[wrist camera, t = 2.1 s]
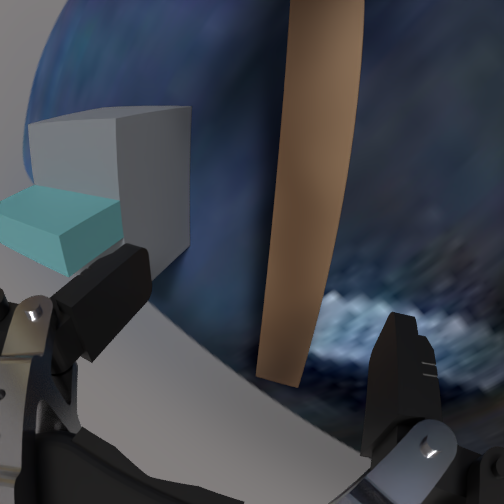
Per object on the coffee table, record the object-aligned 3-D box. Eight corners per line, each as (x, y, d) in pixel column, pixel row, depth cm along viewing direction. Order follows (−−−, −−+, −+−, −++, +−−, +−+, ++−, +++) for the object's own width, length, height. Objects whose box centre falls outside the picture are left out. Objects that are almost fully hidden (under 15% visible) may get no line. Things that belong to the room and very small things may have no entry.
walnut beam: (363, 26, 12) (364, -1, 8) (312, 339, 23) (297, 387, 19) (310, 20, 13) (290, -8, 9) (275, 330, 24) (255, 376, 20)
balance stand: (191, 106, 18) (44, 136, 8) (190, 245, 23) (90, 342, 14) (102, 107, 20) (-25, 141, 10) (110, 224, 25) (12, 293, 15)
